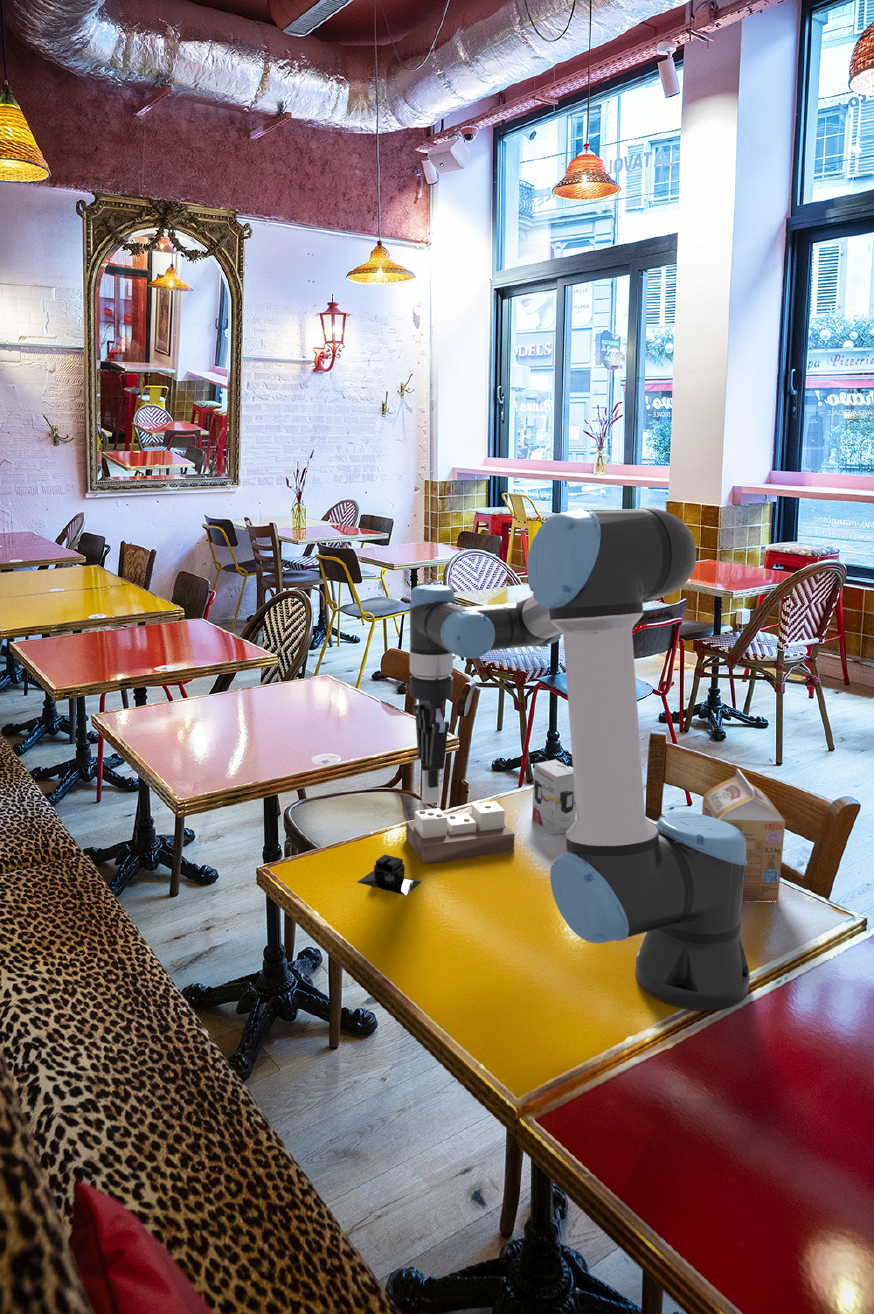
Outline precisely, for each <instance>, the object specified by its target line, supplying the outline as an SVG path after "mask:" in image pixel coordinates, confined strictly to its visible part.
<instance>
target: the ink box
mask: <svg viewBox="0 0 874 1314" xmlns="http://www.w3.org/2000/svg"><path fill="white" fill-rule="evenodd" d="M533 771H534V772H533V788H532V789H533V794H532V813H531V814H532V815H531V816H532V817H531V819H532V820H533V821H534V822H536V823H537V824H538V825H540V826H541V827H543V828H544V829H545V830H547V831H549V832H550V833H551V834H553V835H561V834H566V832H567V831H568V829H569V828H570V827H571V826H572V825H573V824H574V823H575V821H576V819H577V816H576V802H575V789H574V775H573V768H571V767H569V766H568V765H565V764H564V763H563V762H560V761H559V760H557V759H552V760H548V761H542V762H537V763H536V762H535V763H534V766H533Z"/></svg>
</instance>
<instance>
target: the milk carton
mask: <svg viewBox="0 0 874 1314" xmlns="http://www.w3.org/2000/svg"><path fill="white" fill-rule="evenodd" d="M701 815H706V816H710V817H713V818H716V819H719V820H722V821H724V822H727V823H729V824H731V825H732V826H734V827H736V828H737V829H738V830H739V831H740V832H741V833H742V834H743V835H744V837H745V840H746V860H747V865H746V871H745V882H744V892H743V901H745V902H746V901H751V902H750V903H753V902H752V901H772V902H773V901H774V902H775V901H776V902H779V895H780V894H779V893H780V883H781V870H782V863H783V862H782V861H783V850H784V849H783V848H784V841H785V840H784V839H785V831H786V830H785V829H786V820H785V819H784V817H783V816H782V815H781V814H780V812H779V811H778V809H777V808H776V806H775V805H774V804H773V803H772V801H771V799H769V797H768V796H767V795H766V794H765V793H764V792H763V791H762V790H761V789H760V788H759V787H757V786H755V785H754V784H753V783H751V782H749V780H748V779H747V778H746V777H745V776H744V773H742V771H741V770H740V769H739V768H736V771H735V776H733V777H730V778H729V779H726V780H724V781H722V782H720V783H719V784H716V785H715V786H713V787H712V788H710V789H709V790H708V791H706V792H705V793H703V798H702V812H701ZM745 902H744V903H745ZM746 903H747V902H746Z"/></svg>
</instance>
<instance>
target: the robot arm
mask: <svg viewBox="0 0 874 1314" xmlns="http://www.w3.org/2000/svg"><path fill="white" fill-rule="evenodd" d="M696 561H697V547H696V542H695V540H694V537H693V534H692V531H691V530H690V529H689V527H688V526H687V525H686V524H685V523H684V522H683V521H682V520H681V519H679V518H678V517H677V516H676V515H674V514H672V513H670V512H667V511H665V510H662V509H657V508H652V507H651V508H650V507H649V508H646V507H645V508H644V507H642V508H628V509H627V508H626V509H624V508H622V509H621V508H619V509H615V508H613V509H611V508H609V509H608V508H607V509H605V508H604V509H600V508H599V509H598V508H597V509H595V508H593V509H587V508H586V509H578V510H573V511H572V510H571V511H566V512H560V513H556V514H553V515H552V516H550V517H548V518H547V519H546V520H545V521H544V522H543V523H541V525H540V526H539V528H537V532H536V534H535V535H534V536H533V538H532V540H531V544H530V547H529V551H528V556H527V562H526V563H527V564H526V565H527V566H526V568H527V569H526V575H527V582H528V587H529V590H530V591H531V592H533V593H532V595H531V596H530V597H527V598H525V599H523V600H522V601H518V602H517V601H516V602H511V603H497V604H484V605H474V606H473V605H472V606H460V605H457V604H456V599H455V592H454V590H453V588H452V587H451V586H449V585H444V584H443V585H442V584H422V585H421V584H420V585H417V586H414V587H413V588H412V590H411V591H410V604H409V609H408V610H409V673H411V675H410V676H409V695H410V697H412V698H413V699H415V700H417V701H418V703H415V704H413V710H414V717H415V729H416V745H417V746H416V747H417V758H418V759H419V760H420V764H421V766H420V768H421V802H422V803H423V804H424V805H428V804H429V805H430V804H436V803H440V802H439V801H440V770H443V769H445V760H446V749H447V741H448V733H449V729H450V721H445V717H446V709H445V707H444V701H445V700H448V699H450V698H451V697H452V696H453V693H454V676H452V674H453V671H454V660H456V659H457V658H456V656H458V657H459V658H465V659H470V660H474V659H479V658H481V657H482V656H485V654H487V653H488V652H490V651H499V650H506V649H513V648H514V649H515V648H517V649H518V648H525V647H542V646H546V645H550V644H554V643H556V642H558V641H560V639H561V636H563V648H564V650H563V651H564V661H565V662H564V664H565V675H566V678H565V679H566V691H567V704H568V705H567V706H568V717H569V718H568V719H569V721H568V722H569V730H570V733H569V734H570V744H571V745H570V746H571V757H572V758H571V759H572V769H573V775H574V789H575V802H576V821H575V823H574V824H573V825H572V826H571V827H570V828H569V829H568V831H567V832H566V833H565V837H566V838H565V840H566V842H565V843H566V852H562V853H561V854H560V855H559V856H557V857H556V858H555V859H554V860H553V862H552V863H553V864H552V865H551V867H550V872H549V873H550V874H549V875H550V876H549V879H550V880H549V881H550V888H551V893H552V896H553V899H554V902H555V904H556V906H557V909H558V911H559V913H560V915H561V917H562V918H563V919H564V921H565V922H566V924H567V926H568V927H569V928H570V929H571V931H572V932H574V934H575V935H577V936H578V937H579V938H580V939H582V940H584V941H585V942H589V943H591V944H605V943H609V942H613V941H616V942H618V941H619V942H620V941H621V942H622V941H624V940H626V939H627V938H629V937H630V938H631V937H634V936H638V935H640V934H643V933H646V934H645V936H644V937H643V941H642V943H641V946H640V948H639V949H638V950H637V951H638V952H637V953H636V957H635V978H636V980H637V982H638V984H639V985H640V986H641V987H642V988H643V989H644V991H646V992H647V993H648V994H650V995H651V996H653V997H654V998H656V999H658V1000H660V1001H662V1002H664V1003H667V1004H669V1005H672V1006H676V1007H679V1008H683V1009H688V1010H695V1011H718V1010H724V1009H728V1008H731V1007H734V1006H736V1005H738V1004H740V1003H741V1002H742V1001H744V1000H745V998H747V996H748V994H749V989H750V979H751V975H750V973H751V972H750V969H749V964H748V961H747V957H746V953H745V949H744V946H743V942H742V938H741V921H742V913H743V911H742V910H743V903H744V902H743V892H744V882H745V871H746V865H747V860H746V840H745V837H744V835H743V834H742V833H741V832H740V831H739V830H738V829H737V828H736V827H734V826H732V825H731V824H729V823H727V822H724V821H722V820H719V819H716V818H713V817H710V816H706V815H702V813H697V812H696V813H695V812H686V811H674V812H666V813H664V814H661V815H660V816H659V817H658V819H657V822H656V824H653V823H652V822H651V821H650V820H648V819H647V817H646V811H645V799H644V797H645V796H644V782H643V768H642V757H641V756H642V755H641V752H642V751H641V740H640V726H639V713H638V712H639V711H638V699H637V696H638V695H637V683H636V670H635V669H636V668H635V667H636V665H635V654H634V639H633V628H634V627H635V625H636V624H637V623H638V621H640V619H641V618H642V617H643V616H644V606H643V605H644V604H647V603H651V602H654V601H656V600H658V599H660V598H663V597H666V596H668V595H669V596H670V594H673V593H675V592H676V591H678V590H680V589H681V588H682V587H684V585H685V584H686V583H687V582H688V580H690V579H691V577H692V574H693V573H694V570H695V566H696V563H697V562H696Z"/></svg>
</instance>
